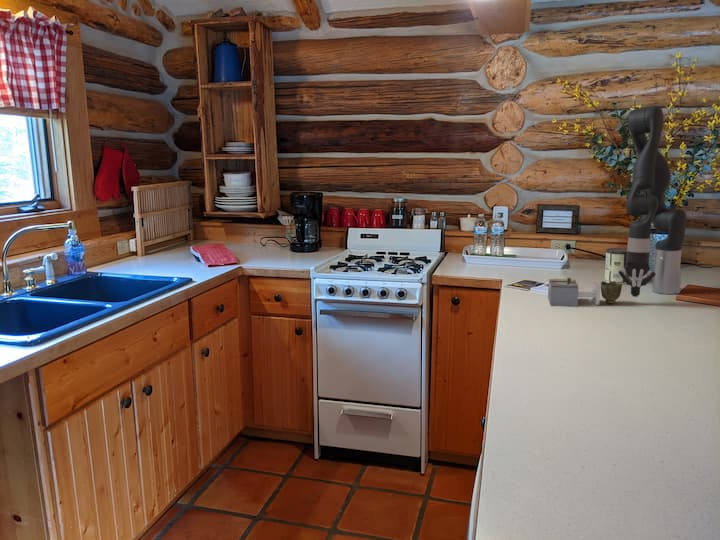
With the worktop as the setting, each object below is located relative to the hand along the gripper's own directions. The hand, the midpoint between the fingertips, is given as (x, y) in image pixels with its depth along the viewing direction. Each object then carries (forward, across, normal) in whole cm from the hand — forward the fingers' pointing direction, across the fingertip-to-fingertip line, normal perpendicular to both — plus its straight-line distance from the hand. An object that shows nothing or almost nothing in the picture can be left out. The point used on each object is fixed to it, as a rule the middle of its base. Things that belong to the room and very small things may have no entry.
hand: (634, 296), depth 215 cm
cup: (+3, +8, 0) cm, 9 cm away
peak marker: (-5, +24, +3) cm, 24 cm away
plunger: (+3, +18, 0) cm, 18 cm away
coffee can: (+3, 0, -39) cm, 39 cm away
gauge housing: (+3, +25, +1) cm, 26 cm away
